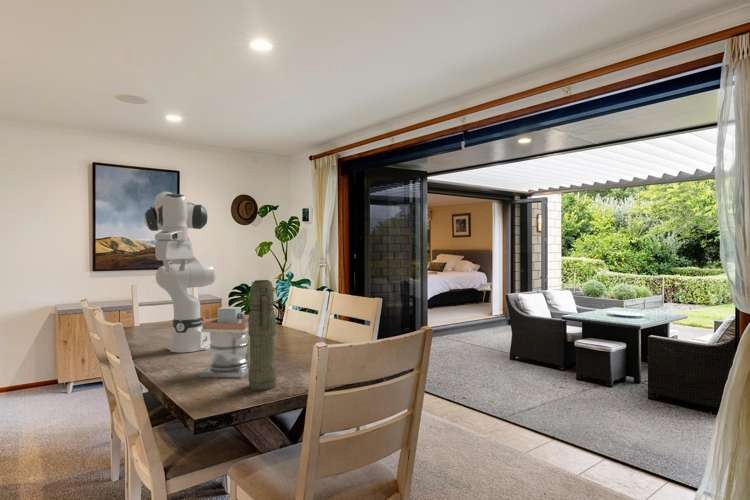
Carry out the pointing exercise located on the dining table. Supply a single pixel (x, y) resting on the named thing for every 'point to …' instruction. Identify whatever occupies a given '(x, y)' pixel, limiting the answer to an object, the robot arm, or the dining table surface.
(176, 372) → the dining table surface
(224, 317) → the pale grey rectangular block
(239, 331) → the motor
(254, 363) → the thermos
